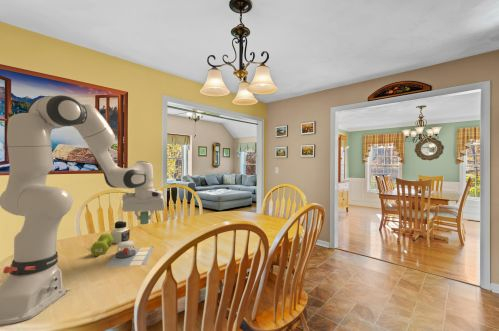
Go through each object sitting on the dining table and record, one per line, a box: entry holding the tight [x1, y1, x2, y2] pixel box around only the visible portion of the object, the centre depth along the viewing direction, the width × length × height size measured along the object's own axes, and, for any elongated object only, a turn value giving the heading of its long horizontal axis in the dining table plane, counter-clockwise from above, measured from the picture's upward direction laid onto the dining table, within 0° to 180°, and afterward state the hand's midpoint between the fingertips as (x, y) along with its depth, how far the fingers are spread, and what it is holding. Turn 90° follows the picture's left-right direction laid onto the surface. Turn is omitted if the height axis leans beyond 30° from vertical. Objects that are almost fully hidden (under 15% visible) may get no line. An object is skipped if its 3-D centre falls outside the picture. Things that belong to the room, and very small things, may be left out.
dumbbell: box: [90, 233, 114, 257], centre depth 126 cm, size 16×8×7 cm, turn 19°
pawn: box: [139, 211, 149, 225], centre depth 122 cm, size 4×4×6 cm
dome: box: [116, 240, 135, 253], centre depth 119 cm, size 7×7×3 cm
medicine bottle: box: [110, 220, 131, 245], centre depth 140 cm, size 7×7×12 cm
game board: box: [104, 246, 155, 268], centre depth 118 cm, size 23×17×4 cm
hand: (144, 219), depth 122 cm, fingers closed on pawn, 4 cm apart
